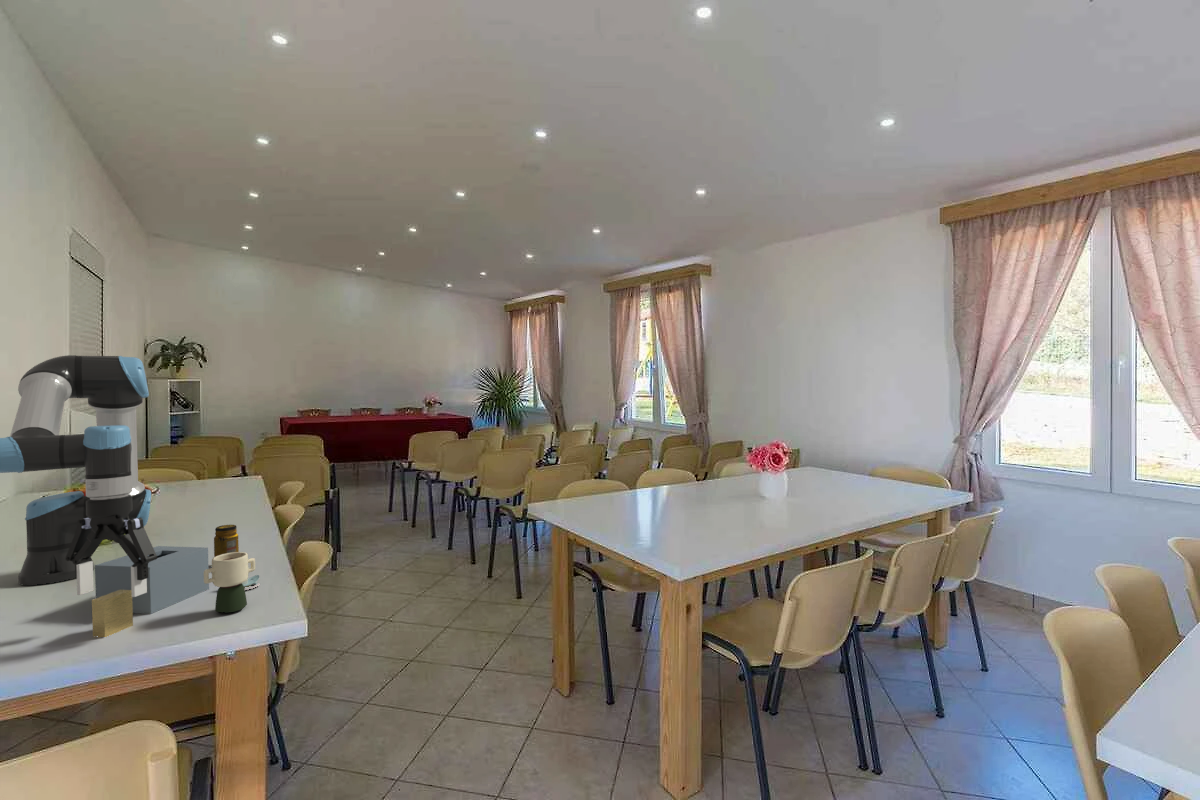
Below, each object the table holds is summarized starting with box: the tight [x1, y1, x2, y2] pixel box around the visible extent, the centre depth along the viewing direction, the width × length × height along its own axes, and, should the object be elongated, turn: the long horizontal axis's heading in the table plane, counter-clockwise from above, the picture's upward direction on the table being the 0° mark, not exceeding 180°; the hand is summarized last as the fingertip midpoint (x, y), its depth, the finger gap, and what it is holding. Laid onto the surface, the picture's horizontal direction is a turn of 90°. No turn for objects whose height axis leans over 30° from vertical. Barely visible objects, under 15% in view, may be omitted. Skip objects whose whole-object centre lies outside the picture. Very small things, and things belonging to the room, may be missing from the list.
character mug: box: [204, 551, 256, 613], centre depth 129 cm, size 11×7×13 cm, turn 147°
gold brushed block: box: [91, 590, 134, 638], centre depth 118 cm, size 3×6×8 cm, turn 172°
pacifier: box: [242, 565, 261, 591], centre depth 144 cm, size 7×6×6 cm
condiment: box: [213, 524, 240, 558], centre depth 162 cm, size 7×8×12 cm
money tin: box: [94, 545, 210, 615], centre depth 136 cm, size 15×16×11 cm
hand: (112, 593), depth 118 cm, fingers open, 13 cm apart
